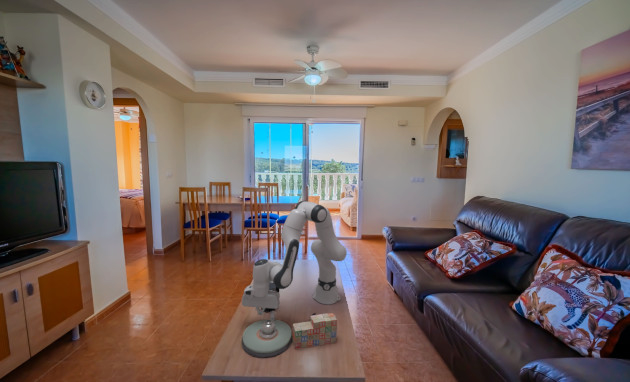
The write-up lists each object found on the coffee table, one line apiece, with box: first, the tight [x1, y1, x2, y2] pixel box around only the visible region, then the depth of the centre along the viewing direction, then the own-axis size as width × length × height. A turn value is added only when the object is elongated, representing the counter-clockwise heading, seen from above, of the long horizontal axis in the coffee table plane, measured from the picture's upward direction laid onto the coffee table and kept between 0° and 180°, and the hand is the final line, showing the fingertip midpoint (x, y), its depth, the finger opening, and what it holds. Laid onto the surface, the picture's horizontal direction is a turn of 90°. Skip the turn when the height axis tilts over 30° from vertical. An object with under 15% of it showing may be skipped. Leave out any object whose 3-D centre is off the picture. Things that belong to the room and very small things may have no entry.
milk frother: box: [260, 282, 280, 313], centre depth 159 cm, size 14×16×15 cm
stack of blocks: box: [292, 312, 338, 349], centre depth 128 cm, size 21×6×12 cm, turn 106°
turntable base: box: [241, 331, 293, 359], centre depth 129 cm, size 25×25×2 cm
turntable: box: [242, 310, 292, 353], centre depth 128 cm, size 24×24×6 cm
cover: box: [259, 320, 277, 339], centre depth 128 cm, size 9×9×6 cm
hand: (260, 314), depth 139 cm, fingers closed
